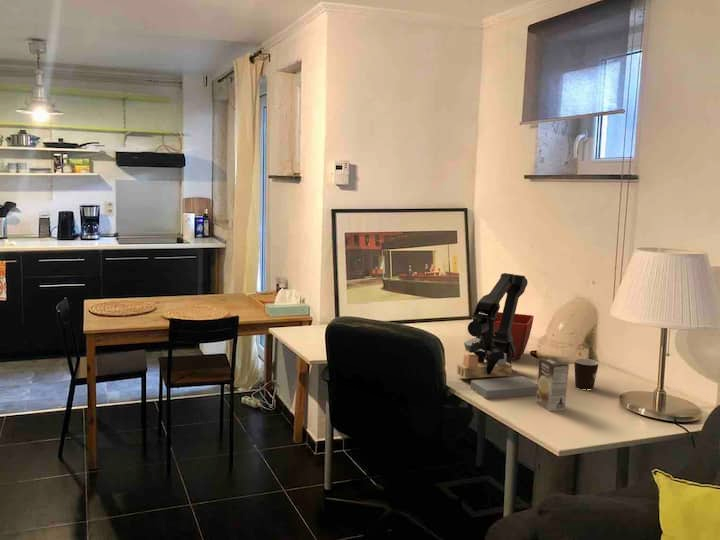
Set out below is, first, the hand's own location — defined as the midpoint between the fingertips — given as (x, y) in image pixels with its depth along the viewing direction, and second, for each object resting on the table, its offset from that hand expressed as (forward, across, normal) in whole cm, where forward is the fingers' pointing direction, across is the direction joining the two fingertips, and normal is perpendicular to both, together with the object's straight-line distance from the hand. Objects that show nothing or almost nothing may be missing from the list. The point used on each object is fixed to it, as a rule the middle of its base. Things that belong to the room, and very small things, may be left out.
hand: (484, 371), depth 263 cm
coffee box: (+3, +34, +7) cm, 35 cm away
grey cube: (-3, 0, +6) cm, 7 cm away
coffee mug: (+3, +19, +33) cm, 38 cm away
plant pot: (+3, -28, +26) cm, 38 cm away
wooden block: (+1, 0, 0) cm, 1 cm away
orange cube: (-3, 0, -6) cm, 7 cm away
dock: (+3, +16, 0) cm, 16 cm away
